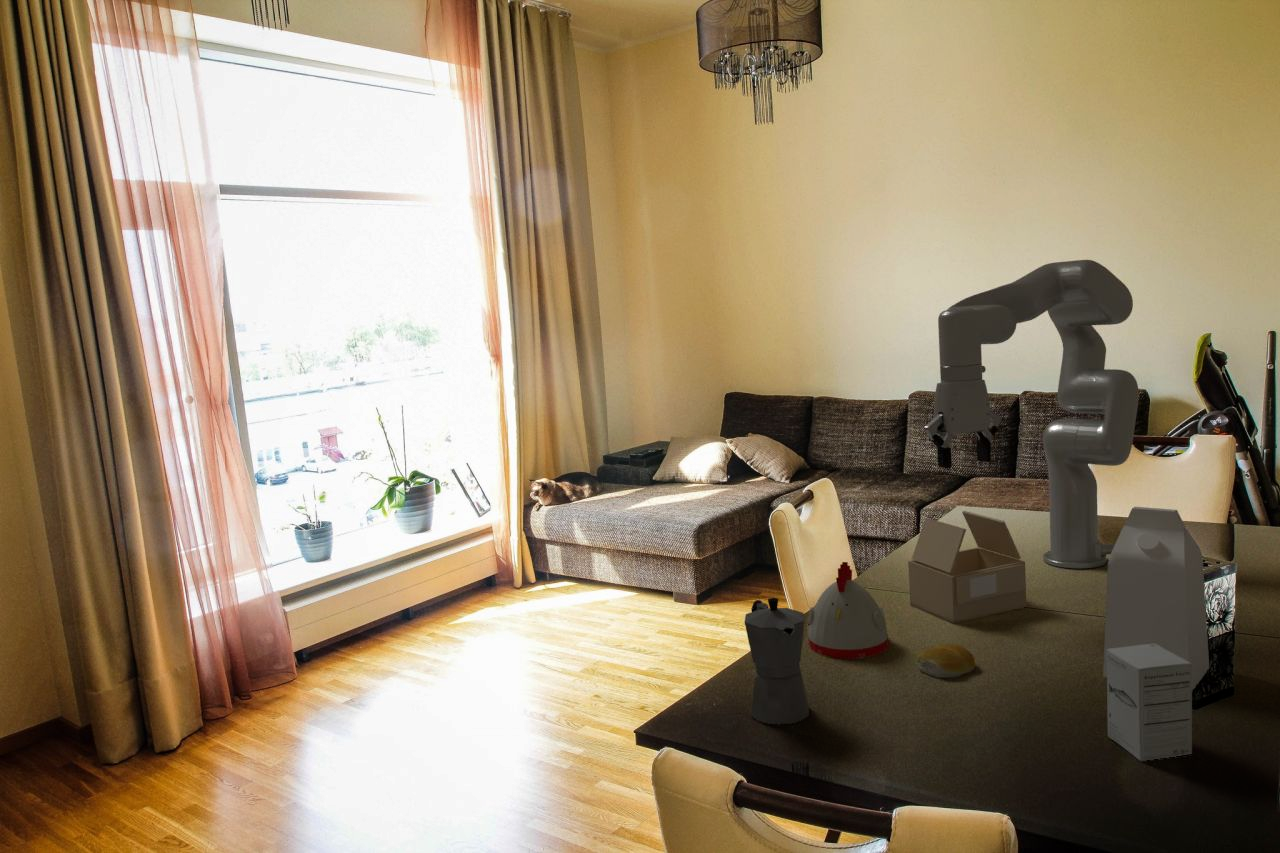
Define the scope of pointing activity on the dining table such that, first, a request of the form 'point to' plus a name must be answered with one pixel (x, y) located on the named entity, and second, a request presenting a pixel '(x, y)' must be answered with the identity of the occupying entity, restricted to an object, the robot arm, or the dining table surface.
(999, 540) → the flap
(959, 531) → the flap
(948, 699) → the dining table surface
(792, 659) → the coffeepot
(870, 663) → the dining table surface
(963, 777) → the dining table surface
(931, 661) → the bread roll
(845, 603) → the kitchen timer
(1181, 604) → the milk
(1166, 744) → the supplement box
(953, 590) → the carton
